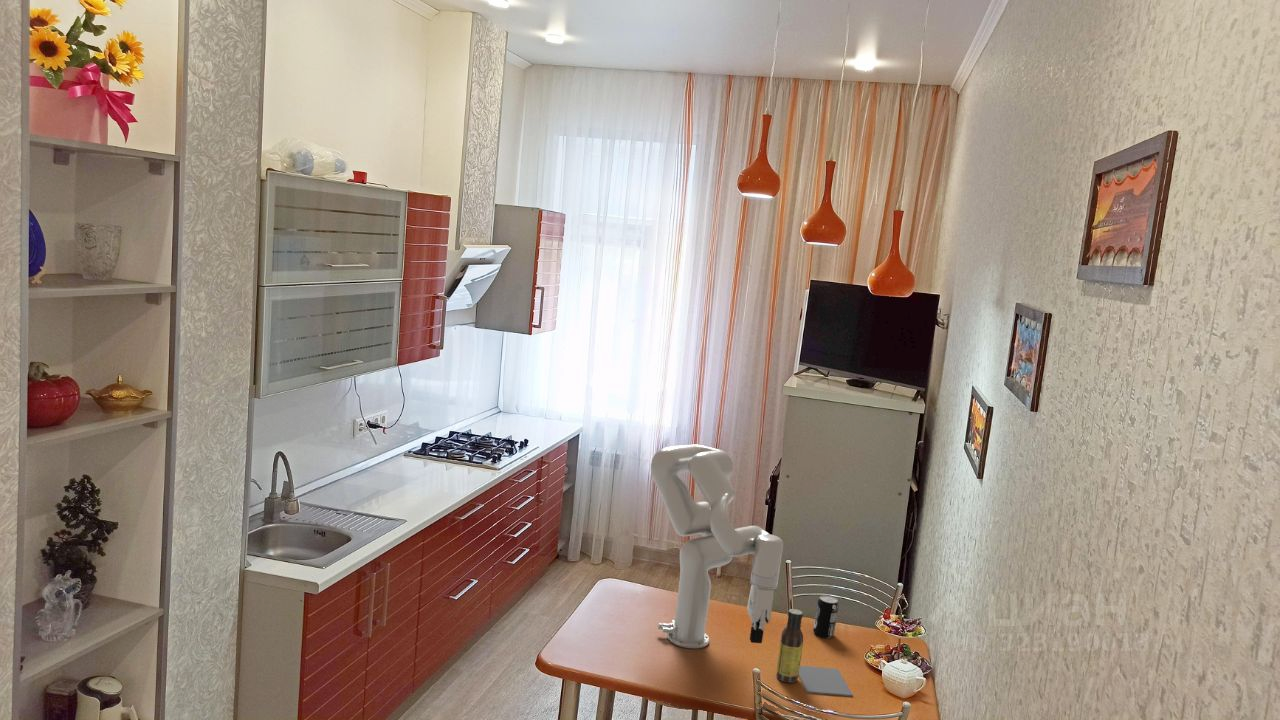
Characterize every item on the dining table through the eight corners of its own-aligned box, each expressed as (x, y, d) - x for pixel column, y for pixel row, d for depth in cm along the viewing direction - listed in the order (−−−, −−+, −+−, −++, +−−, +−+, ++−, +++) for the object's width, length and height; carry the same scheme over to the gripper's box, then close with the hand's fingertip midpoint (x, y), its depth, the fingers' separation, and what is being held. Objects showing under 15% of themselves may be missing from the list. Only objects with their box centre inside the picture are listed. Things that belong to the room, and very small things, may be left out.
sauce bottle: (801, 683, 259) (812, 616, 256) (783, 685, 256) (793, 617, 253) (789, 671, 265) (799, 606, 262) (771, 673, 262) (781, 607, 259)
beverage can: (810, 629, 296) (815, 593, 294) (830, 630, 297) (835, 595, 295) (815, 638, 290) (821, 602, 288) (836, 639, 290) (841, 603, 288)
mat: (806, 692, 253) (806, 691, 253) (794, 666, 268) (794, 665, 268) (852, 696, 254) (852, 694, 254) (837, 670, 269) (838, 668, 269)
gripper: (746, 568, 263) (738, 629, 265) (755, 588, 248) (747, 652, 250) (772, 570, 263) (763, 631, 266) (783, 591, 248) (774, 655, 251)
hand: (755, 641), depth 258 cm, fingers closed
